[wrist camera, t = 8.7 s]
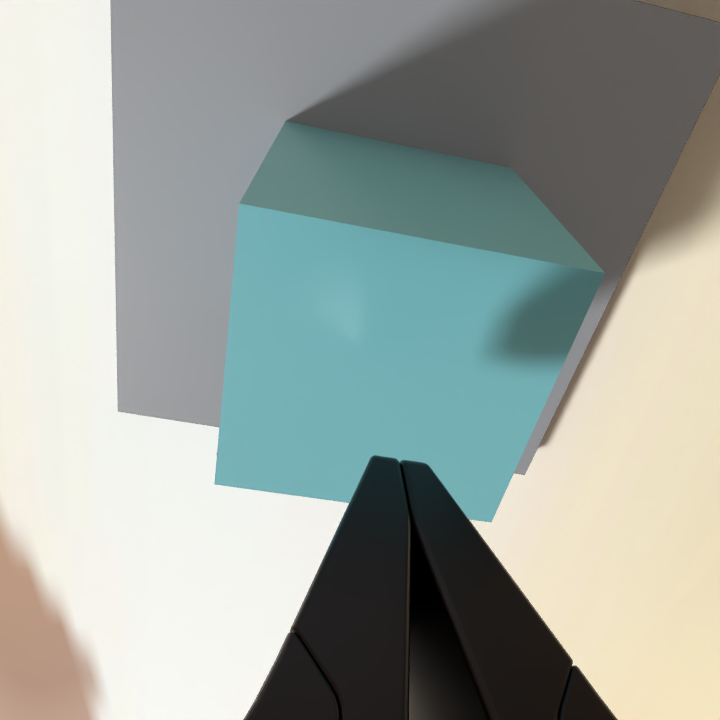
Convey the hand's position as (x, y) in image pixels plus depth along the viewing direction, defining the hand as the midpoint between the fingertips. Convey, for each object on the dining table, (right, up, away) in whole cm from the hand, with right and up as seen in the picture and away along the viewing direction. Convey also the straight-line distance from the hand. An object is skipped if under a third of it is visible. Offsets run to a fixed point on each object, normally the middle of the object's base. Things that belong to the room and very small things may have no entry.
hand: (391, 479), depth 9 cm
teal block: (0, +5, +7) cm, 9 cm away
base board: (0, +5, +8) cm, 10 cm away
